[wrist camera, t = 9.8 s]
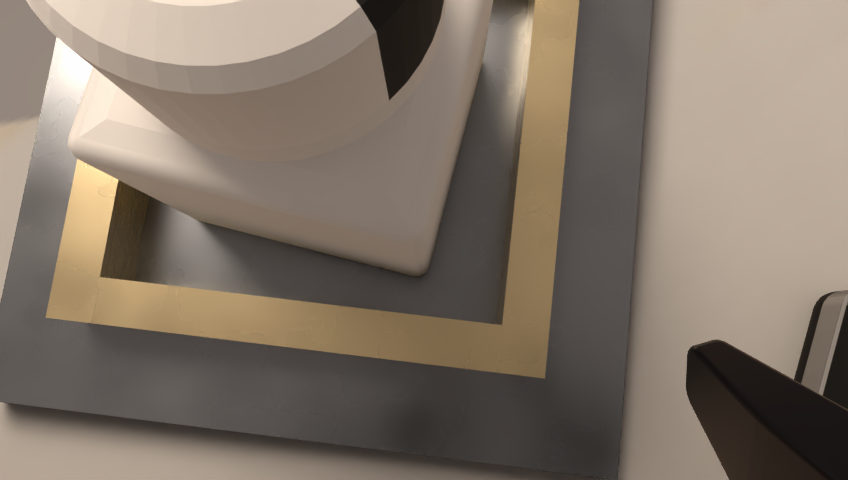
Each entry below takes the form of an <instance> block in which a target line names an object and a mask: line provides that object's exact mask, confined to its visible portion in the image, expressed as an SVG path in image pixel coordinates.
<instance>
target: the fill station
mask: <svg viewBox="0 0 848 480" xmlns="http://www.w3.org/2000/svg"><path fill="white" fill-rule="evenodd" d="M652 5H653V0H493V5H492V11H491V17H490V22H489V28H488V34H487V40H486V46H485V52H484V57H483V62H482V66H481V69H480V73H479V77H478V81H477V85H476V89H475V92H474V96H473V100H472V104H471V108H470V112H469V115H468V119H467V123H466V127H465V131H464V135H463V138H462V142H461V146H460V150H459V154H458V158H457V162H456V165H455V169H454V173H453V177H452V181H451V185H450V188H449V192H448V196H447V200H446V204H445V208H444V211H443V215H442V219H441V223H440V227H439V231H438V234H437V238H436V242H435V246H434V250H433V254H432V257H431V261H430V265H429V268H428V269H427V271H426V273H424V274H422V275H421V276H411V275H407V274H403V273H399V272H396V271H392V270H388V269H384V268H380V267H376V266H372V265H369V264H365V263H361V262H357V261H353V260H349V259H345V258H341V257H338V256H334V255H330V254H326V253H322V252H318V251H314V250H310V249H307V248H303V247H299V246H295V245H291V244H287V243H283V242H279V241H276V240H272V239H268V238H264V237H260V236H256V235H252V234H248V233H245V232H241V231H237V230H233V229H229V228H225V227H221V226H218V225H214V224H210V223H206V222H202V221H198V220H196V219H194V218H192V217H190V216H188V215H186V214H184V213H182V212H180V211H179V210H177V209H175V208H173V207H171V206H169V205H167V204H165V203H163V202H161V201H159V200H157V199H155V198H153V197H151V196H149V195H147V194H145V193H143V192H141V191H139V190H137V189H135V188H133V187H132V186H130V185H128V184H126V183H124V182H122V181H120V180H118V179H116V178H114V177H112V176H110V175H108V174H106V173H104V172H102V171H100V170H98V169H96V168H94V167H92V166H90V165H88V164H86V163H85V162H83V161H81V160H79V159H77V158H76V157H74V155H73V154H72V152H71V150H70V149H69V147H68V137H69V134H70V131H71V128H72V125H73V122H74V119H75V116H76V114H77V111H78V108H79V105H80V102H81V99H82V96H83V93H84V91H85V88H86V85H87V82H88V79H89V76H90V73H91V71H92V68H93V66H91V65H90V64H89V63H88V62H86V61H85V60H84V59H83V58H81V57H80V56H79V55H78V54H76V53H75V52H74V51H73V50H72V49H70V48H69V47H68V46H67V45H66V44H65V43H64V42H62V41H61V40H60V39H59V38H58V37H57V38H56V43H55V48H54V53H53V57H52V62H51V67H50V71H49V76H48V81H47V86H46V90H45V95H44V100H43V104H42V109H41V114H40V119H39V123H38V128H37V133H36V138H35V142H34V147H33V152H32V156H31V161H30V166H29V171H28V175H27V180H26V185H25V190H24V194H23V199H22V204H21V208H20V213H19V218H18V223H17V227H16V232H15V237H14V242H13V246H12V251H11V256H10V260H9V265H8V270H7V275H6V279H5V284H4V289H3V294H2V298H1V303H0V402H4V403H12V404H20V405H28V406H36V407H44V408H52V409H60V410H68V411H76V412H84V413H92V414H99V415H107V416H115V417H123V418H131V419H139V420H147V421H155V422H163V423H171V424H179V425H186V426H194V427H202V428H210V429H218V430H226V431H234V432H242V433H250V434H258V435H266V436H273V437H281V438H289V439H297V440H305V441H313V442H321V443H329V444H337V445H345V446H353V447H361V448H368V449H376V450H384V451H392V452H400V453H408V454H416V455H424V456H432V457H440V458H448V459H455V460H463V461H471V462H479V463H487V464H495V465H503V466H511V467H519V468H527V469H535V470H542V471H550V472H558V473H566V474H574V475H582V476H590V477H598V478H606V479H614V480H617V479H618V465H619V452H620V438H621V424H622V411H623V397H624V384H625V370H626V357H627V343H628V330H629V316H630V303H631V289H632V276H633V262H634V249H635V235H636V221H637V208H638V194H639V181H640V167H641V154H642V140H643V127H644V113H645V100H646V86H647V73H648V59H649V46H650V32H651V19H652Z"/></svg>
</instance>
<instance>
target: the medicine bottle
mask: <svg viewBox="0 0 848 480" xmlns="http://www.w3.org/2000/svg"><path fill="white" fill-rule="evenodd" d="M26 1H27V3H28V4H29V6H30V8H31V9H32V10H33V11H34V12H35V13H36V15H37V16H38V17H39V18H40V19H41V21H42V22H43V23H44V24H45V25H46V27H47V28H48V29H49V30H50V31H51V32H52V33H53V34H54V35H55V36H57V37H58V38H59V39H60V40H61V41H62V42H64V43H65V44H66V45H67V46H68V47H69V48H70V49H72V50H73V51H74V52H75V53H76V54H78V55H79V56H80V57H81V58H83V59H84V60H85V61H86V62H88V63H89V64H90V65H91V66H93V68H92V71H91V73H90V76H89V79H88V82H87V85H86V88H85V91H84V93H83V96H82V99H81V102H80V105H79V108H78V111H77V114H76V116H75V119H74V122H73V125H72V128H71V131H70V134H69V137H68V147H69V149H70V150H71V152H72V154H73V155H74V157H76V158H77V159H79V160H81V161H83V162H85V163H86V164H88V165H90V166H92V167H94V168H96V169H98V170H100V171H102V172H104V173H106V174H108V175H110V176H112V177H114V178H116V179H118V180H120V181H122V182H124V183H126V184H128V185H130V186H132V187H133V188H135V189H137V190H139V191H141V192H143V193H145V194H147V195H149V196H151V197H153V198H155V199H157V200H159V201H161V202H163V203H165V204H167V205H169V206H171V207H173V208H175V209H177V210H179V211H180V212H182V213H184V214H186V215H188V216H190V217H192V218H194V219H196V220H198V221H202V222H206V223H210V224H214V225H218V226H221V227H225V228H229V229H233V230H237V231H241V232H245V233H248V234H252V235H256V236H260V237H264V238H268V239H272V240H276V241H279V242H283V243H287V244H291V245H295V246H299V247H303V248H307V249H310V250H314V251H318V252H322V253H326V254H330V255H334V256H338V257H341V258H345V259H349V260H353V261H357V262H361V263H365V264H369V265H372V266H376V267H380V268H384V269H388V270H392V271H396V272H399V273H403V274H407V275H411V276H421V275H422V274H424V273H426V271H427V269H428V268H429V265H430V261H431V257H432V254H433V250H434V246H435V242H436V238H437V234H438V231H439V227H440V223H441V219H442V215H443V211H444V208H445V204H446V200H447V196H448V192H449V188H450V185H451V181H452V177H453V173H454V169H455V165H456V162H457V158H458V154H459V150H460V146H461V142H462V138H463V135H464V131H465V127H466V123H467V119H468V115H469V112H470V108H471V104H472V100H473V96H474V92H475V89H476V85H477V81H478V77H479V73H480V69H481V66H482V62H483V57H484V52H485V46H486V40H487V34H488V28H489V22H490V17H491V11H492V5H493V0H26Z"/></svg>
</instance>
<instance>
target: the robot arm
mask: <svg viewBox="0 0 848 480" xmlns="http://www.w3.org/2000/svg"><path fill="white" fill-rule="evenodd" d="M686 390H687V395H688V398H689V401H690V403H691V405H692V407H693V409H694V411H695V413H696V415H697V417H698V419H699V421H700V423H701V425H702V427H703V429H704V431H705V433H706V435H707V437H708V439H709V441H710V443H711V445H712V447H713V449H714V451H715V452H716V454H717V456H718V458H719V460H720V462H721V464H722V466H723V468H724V470H725V472H726V474H727V476H728V478H729V480H848V409H846V408H844V407H842V406H840V405H838V404H837V403H835V402H833V401H831V400H829V399H828V398H826V397H824V396H822V395H820V394H819V393H817V392H815V391H813V390H811V389H810V388H808V387H806V386H804V385H802V384H800V383H799V382H797V381H795V380H793V379H791V378H790V377H788V376H786V375H784V374H782V373H781V372H779V371H777V370H775V369H773V368H772V367H770V366H768V365H766V364H764V363H762V362H761V361H759V360H757V359H755V358H753V357H752V356H750V355H748V354H746V353H744V352H743V351H741V350H739V349H737V348H735V347H734V346H732V345H730V344H728V343H726V342H724V341H721V340H711V341H708V342H705V343H701V344H698V345H695V346H692V347H691V348H690V349H689V351H688V354H687V374H686Z"/></svg>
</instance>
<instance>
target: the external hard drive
mask: <svg viewBox="0 0 848 480" xmlns="http://www.w3.org/2000/svg"><path fill="white" fill-rule="evenodd" d="M794 380H795V381H797V382H799V383H800V384H802V385H804V386H806V387H808V388H810V389H811V390H813V391H815V392H817V393H819V394H820V395H822V396H824V397H826V398H828V399H829V400H831V401H833V402H835V403H837V404H838V405H840V406H842V407H844V408H846V409H848V290H845V291H837V292H831V293H828V294H826V295H824V296H822V297H821V298H820V299H819V300H818V301H817V302H816V304H815V306H814V309H813V312H812V316H811V320H810V323H809V327H808V331H807V334H806V338H805V342H804V345H803V349H802V353H801V356H800V360H799V364H798V367H797V371H796V375H795V378H794Z"/></svg>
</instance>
